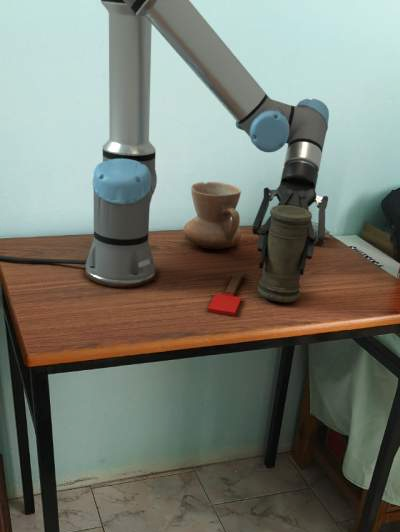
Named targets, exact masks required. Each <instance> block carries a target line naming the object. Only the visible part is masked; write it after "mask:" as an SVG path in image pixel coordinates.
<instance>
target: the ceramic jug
mask: <svg viewBox="0 0 400 532" xmlns="http://www.w3.org/2000/svg"><path fill="white" fill-rule="evenodd" d="M190 189H191V190H190V192H191V199H192V203H193V207H194V210H195V213H196V216H195V217H193V218H191V219H190V220H189V221H187V222H186V223H185V224H184V227H183V230H182V231H183V235H184V237H185V239H186V240H187V242H189V243H190V244H193V245H195V246H196V247H199V248H203V249H210V250H223V249H228V248H231V247H234V246H235V245H236V244H238V243H239V242H240V240H241V238H242V231H241V229H240V224H241V223H240V221H241V219H240V218H241V217H240V213H239V212H238V210H237V209H236V208H237V206H238V204H239V201H240V197H241V194H242V189H241V188H240V187H239V186H237V185H234V184H231V183H227V182H226V183H225V182H219V181H205V182H203V181H200V182H199V181H198V182H195V183H193V184H192V185H191V188H190Z"/></svg>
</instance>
